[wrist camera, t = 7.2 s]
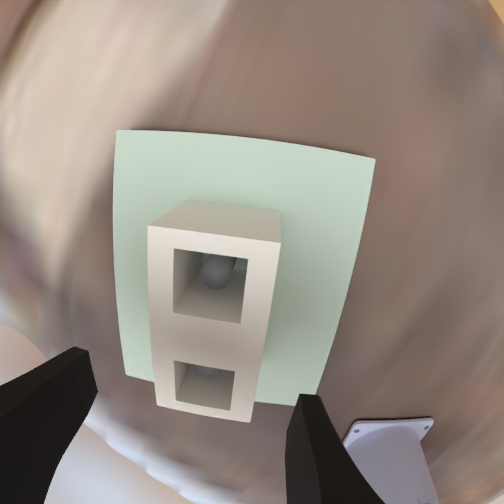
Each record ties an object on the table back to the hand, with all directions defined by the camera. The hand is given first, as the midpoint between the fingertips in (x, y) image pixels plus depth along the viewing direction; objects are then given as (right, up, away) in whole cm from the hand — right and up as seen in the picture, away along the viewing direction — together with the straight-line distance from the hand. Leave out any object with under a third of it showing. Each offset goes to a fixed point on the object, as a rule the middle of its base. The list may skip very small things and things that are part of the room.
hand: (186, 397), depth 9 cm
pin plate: (+1, +3, +9) cm, 9 cm away
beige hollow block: (+1, +3, +7) cm, 8 cm away
